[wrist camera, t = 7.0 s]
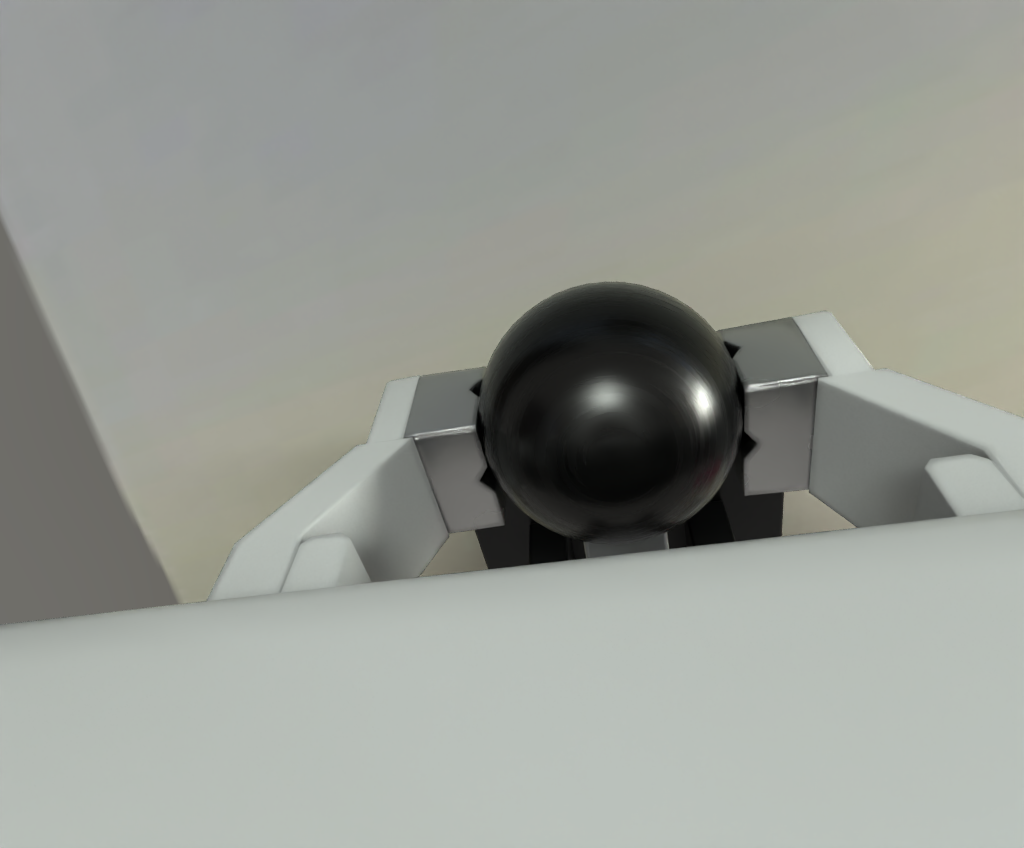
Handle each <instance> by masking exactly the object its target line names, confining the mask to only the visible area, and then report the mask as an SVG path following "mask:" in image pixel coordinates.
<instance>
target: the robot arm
mask: <svg viewBox="0 0 1024 848" xmlns="http://www.w3.org/2000/svg"><path fill="white" fill-rule="evenodd" d="M716 333H717V334H718V336H719V337H720V339H721V341H722V342H723V344H724V345H725V347H726V348H727V350H728V352H729V354H730V356H731V358H732V360H733V362H734V364H735V366H736V370H737V374H738V378H739V382H740V386H741V393H742V401H743V416H744V423H743V431H742V439H741V442H740V446H739V449H738V453H737V456H736V458H735V461H734V463H733V465H734V468H735V470H736V473H737V476H738V479H739V481H740V484H741V487H742V489H743V492H744V495H745V496H748V495H758V494H768V493H778V492H789V491H799V490H809V493H811V494H812V495H814V496H815V497H816V498H818V499H819V500H820V501H822V502H823V503H825V504H826V505H827V506H829V507H830V508H831V509H833V510H834V511H835V512H837V513H838V514H840V515H841V516H842V517H844V518H845V519H846V520H848V521H849V522H851V523H852V524H853V525H855V526H856V527H857V528H852V529H843V530H834V531H825V532H816V533H807V534H799V535H790V536H781V537H772V538H763V539H754V540H746V541H737V542H728V543H719V544H710V545H701V546H692V547H683V548H675V549H666V550H657V551H648V552H639V553H630V554H621V555H612V556H604V557H595V558H586V559H577V560H568V561H559V562H550V563H541V564H533V565H524V566H515V567H506V568H497V569H488V570H479V571H470V572H462V573H453V574H444V575H435V576H426V577H419V576H420V575H421V573H422V572H423V571H424V569H425V568H426V567H427V565H428V564H429V563H430V561H431V560H432V559H433V557H434V556H435V555H436V553H437V552H438V551H439V549H440V548H441V547H442V545H443V544H444V543H445V541H446V540H447V539H448V538H449V533H455V532H462V531H469V530H475V529H482V528H489V527H495V526H502V525H505V512H506V497H507V494H506V493H505V491H504V490H503V489H502V487H501V486H500V485H499V483H498V481H497V479H496V478H495V476H494V474H493V473H492V471H491V468H490V466H489V464H488V461H487V459H486V457H485V453H484V449H483V445H482V441H481V435H480V428H479V409H478V404H479V397H480V389H481V385H482V382H483V378H484V375H485V371H486V367H480V368H472V369H465V370H458V371H451V372H444V373H437V374H429V375H423V376H413V377H408V378H402V379H397V380H392V381H390V382H388V383H387V384H386V386H385V389H384V392H383V395H382V398H381V401H380V404H379V407H378V410H377V413H376V416H375V419H374V422H373V425H372V428H371V431H370V434H369V437H368V439H367V442H366V444H362V445H356V446H355V447H354V448H353V449H351V450H350V451H349V452H348V453H347V454H345V455H344V456H343V457H342V458H340V459H339V460H338V461H337V462H335V463H334V464H333V465H332V466H330V467H329V468H328V469H327V470H325V471H324V472H323V473H322V474H320V475H319V476H318V477H317V478H315V479H314V480H313V481H312V482H310V483H309V484H308V485H307V486H306V487H304V488H303V489H302V490H301V491H299V492H298V493H297V494H296V495H294V496H293V497H292V498H291V499H289V500H288V501H287V502H286V503H284V504H283V505H282V506H281V507H279V508H278V509H277V510H276V511H274V512H273V513H272V514H271V515H270V516H268V517H267V518H266V519H265V520H263V521H262V522H261V523H260V524H258V525H257V526H256V527H255V528H253V529H252V530H251V531H250V532H248V533H247V534H246V535H245V536H243V537H242V538H241V539H240V540H238V541H237V542H236V543H235V544H234V546H233V548H232V550H231V552H230V554H229V556H228V558H227V560H226V562H225V564H224V566H223V568H222V570H221V572H220V574H219V576H218V578H217V580H216V582H215V584H214V586H213V588H212V591H211V593H210V595H209V597H208V599H207V601H204V602H195V603H186V604H177V605H169V606H160V607H151V608H142V609H134V610H125V611H115V612H107V613H98V614H89V615H80V616H72V617H62V618H53V619H45V620H36V621H27V622H19V623H9V624H0V848H1024V418H1023V417H1020V416H1017V415H1014V414H1012V413H1009V412H1006V411H1003V410H1000V409H998V408H995V407H992V406H989V405H987V404H984V403H981V402H978V401H976V400H973V399H970V398H967V397H965V396H962V395H959V394H956V393H953V392H951V391H948V390H945V389H942V388H940V387H937V386H934V385H931V384H929V383H926V382H923V381H920V380H918V379H915V378H912V377H909V376H906V375H904V374H901V373H898V372H895V371H893V370H890V369H887V368H885V369H877V370H874V368H873V367H872V366H871V364H870V363H869V362H868V360H867V359H866V358H865V356H864V355H863V354H862V353H861V351H860V350H859V349H858V347H857V346H856V345H855V343H854V342H853V341H852V339H851V338H850V337H849V335H848V334H847V333H846V331H845V330H844V329H843V328H842V326H841V325H840V324H839V322H838V321H837V320H836V318H835V317H834V316H833V314H832V313H831V312H828V311H820V312H815V313H810V314H805V315H800V316H795V317H788V318H783V319H778V320H772V321H767V322H761V323H756V324H750V325H745V326H739V327H734V328H728V329H723V330H718V331H716Z"/></svg>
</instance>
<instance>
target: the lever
mask: <svg viewBox="0 0 1024 848" xmlns="http://www.w3.org/2000/svg"><path fill="white" fill-rule="evenodd" d="M478 409H479V428H480V435H481V441H482V445H483V449H484V453H485V457H486V459H487V461H488V464H489V466H490V468H491V471H492V473H493V474H494V476H495V478H496V479H497V481H498V483H499V485H500V486H501V487H502V489H503V490H504V491H505V493H506V494H507V495H508V497H509V498H510V499H511V500H512V501H513V502H514V503H515V504H516V505H517V506H518V507H519V508H520V509H521V510H522V511H523V512H524V513H525V514H526V515H528V516H529V517H530V518H531V519H533V520H534V521H535V522H537V523H539V524H540V525H542V526H544V527H545V528H547V529H549V530H551V531H553V532H556V533H558V534H560V535H562V536H565V537H569V538H572V539H575V540H578V541H583V542H584V547H585V554H586V558H595V557H604V556H612V555H621V554H630V553H639V552H648V551H657V550H666V549H669V543H668V535H667V532H668V531H670V530H672V529H674V528H676V527H677V526H679V525H681V524H683V523H684V522H686V521H687V520H689V519H690V518H691V517H693V516H694V515H695V514H697V513H698V512H699V511H700V510H701V509H702V508H703V507H704V506H705V505H706V504H707V503H708V502H709V501H710V500H711V499H712V498H713V497H714V495H715V494H716V493H717V491H718V490H719V489H720V488H721V486H722V484H723V483H724V481H725V479H726V478H727V476H728V474H729V472H730V470H731V468H732V465H733V463H734V461H735V458H736V456H737V453H738V449H739V446H740V442H741V439H742V431H743V423H744V416H743V401H742V393H741V386H740V382H739V378H738V374H737V370H736V366H735V364H734V362H733V360H732V358H731V356H730V354H729V352H728V350H727V348H726V347H725V345H724V344H723V342H722V341H721V339H720V337H719V336H718V334H717V333H716V332H715V331H714V329H713V328H712V327H711V326H710V325H709V324H708V323H707V322H706V320H705V319H704V318H702V317H701V316H700V315H699V314H698V313H697V312H695V311H694V310H693V309H692V308H691V307H689V306H687V305H686V304H684V303H683V302H681V301H680V300H678V299H676V298H674V297H672V296H670V295H668V294H666V293H663V292H661V291H659V290H656V289H652V288H649V287H646V286H643V285H638V284H632V283H626V282H599V283H589V284H585V285H580V286H576V287H572V288H569V289H567V290H564V291H562V292H559V293H556V294H554V295H552V296H551V297H549V298H547V299H545V300H543V301H541V302H540V303H538V304H537V305H536V306H534V307H533V308H532V309H530V310H529V311H527V312H526V313H525V314H524V315H523V316H522V317H521V318H520V319H518V320H517V321H516V322H515V323H514V324H513V325H512V326H511V328H510V329H509V330H508V331H507V333H506V334H505V335H504V336H503V338H502V339H501V341H500V342H499V344H498V346H497V347H496V349H495V350H494V352H493V354H492V356H491V359H490V361H489V363H488V366H487V368H486V371H485V375H484V378H483V382H482V385H481V389H480V397H479V404H478Z"/></svg>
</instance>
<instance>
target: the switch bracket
mask: <svg viewBox="0 0 1024 848" xmlns="http://www.w3.org/2000/svg"><path fill="white" fill-rule="evenodd" d="M783 500H784V492H778V493H768V494H758V495H748V496H745V495H744V492H743V489H742V487H741V484H740V481H739V479H738V476H737V473H736V470H735V468H734V465H732V468H731V470H730V472H729V474H728V476H727V478H726V479H725V481H724V483H723V484H722V486H721V488H720V489H719V490H718V491H717V493H716V494H715V495H714V497H713V498H712V499H711V500H710V501H709V502H708V503H707V504H706V505H705V506H704V507H703V508H702V509H701V510H700V511H699V512H698V513H697V514H695V515H694V516H693V517H691V518H690V519H689V520H687V521H686V522H684V523H683V524H681V525H679V526H677V527H676V528H674V529H672V530H670V531H668V532H667V535H668V543H669V549H675V548H683V547H692V546H701V545H710V544H719V543H728V542H737V541H746V540H754V539H763V538H772V537H781V536H782V519H783ZM475 532H476V535H477V538H478V541H479V544H480V546H481V549H482V552H483V555H484V558H485V561H486V564H487V567H488V569H497V568H506V567H515V566H524V565H533V564H541V563H550V562H559V561H568V560H577V559H586V554H585V547H584V542H583V541H578V540H575V539H572V538H569V537H565V536H562V535H560V534H558V533H556V532H553V531H551V530H549V529H547V528H545V527H544V526H542V525H540V524H539V523H537V522H535V521H534V520H533V519H531V518H530V517H529V516H528V515H526V514H525V513H524V512H523V511H522V510H521V509H520V508H519V507H518V506H517V505H516V504H515V503H514V502H513V501H512V500H511V499H510V498H509V497H508V495H507V497H506V512H505V525H502V526H495V527H489V528H482V529H475Z"/></svg>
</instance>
